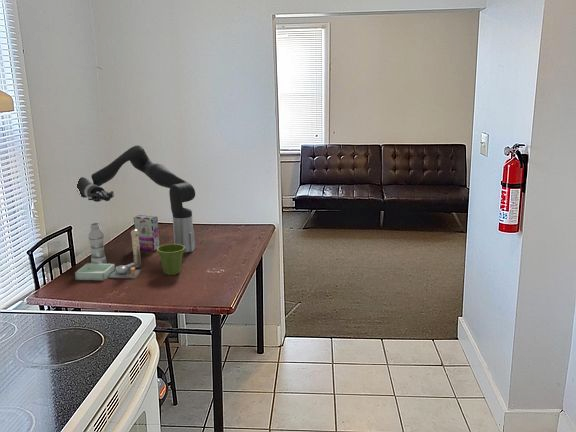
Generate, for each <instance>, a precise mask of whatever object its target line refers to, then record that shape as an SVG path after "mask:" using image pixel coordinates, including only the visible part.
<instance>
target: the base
mask: <svg viewBox="0 0 576 432" xmlns="http://www.w3.org/2000/svg"><path fill="white" fill-rule="evenodd" d="M140 273H142V269H135V275H131V270H128V272H126V273H123V274H118V273H116V269H115V271H114V272H113V273H112V274H111V275H109V277H108V278H109V279H136V278H137V276H139V275H140Z"/></svg>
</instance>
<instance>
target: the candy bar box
mask: <svg viewBox="0 0 576 432" xmlns="http://www.w3.org/2000/svg"><path fill="white" fill-rule="evenodd" d="M158 219H159V217H158V216H155V215H143V214H138V215H136V216H133V225H134V226H133V227H134V229H136V230H138V231H139V245H140V250H145V251H146V250H147V251H154V252H155V251H157V248H158V247H159V246H161V245H160V234H159V232H160V231H159V220H158Z"/></svg>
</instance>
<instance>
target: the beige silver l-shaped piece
mask: <svg viewBox="0 0 576 432" xmlns="http://www.w3.org/2000/svg"><path fill="white" fill-rule="evenodd" d="M130 236H131V244H132V255H133V262H131V263H128V264H126V265H123V264H122V265H121V264H120V265H118V266H115V270H116V273H118V274H123V273H126V272H128V270H131V267H135V269H136V268H139V267H142V259H141V249H140V245H139V231H138V230H136V229H135V228H134V229H132V230H131V231H130Z"/></svg>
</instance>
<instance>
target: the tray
mask: <svg viewBox="0 0 576 432" xmlns="http://www.w3.org/2000/svg"><path fill="white" fill-rule="evenodd" d="M115 268H116V264H115V263H106V264H92V263H91V262H90V263H89V262H88V263H87V262H86V263H85V264H84V265H82V267H80V268H78V270H76V271H75V272H74V278H75V279H74V280H76V281H106V280H107V279H108V278H109V275H111V274H112V273H113V272H114V271H115V270H116V269H115ZM105 279H106V280H105Z"/></svg>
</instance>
